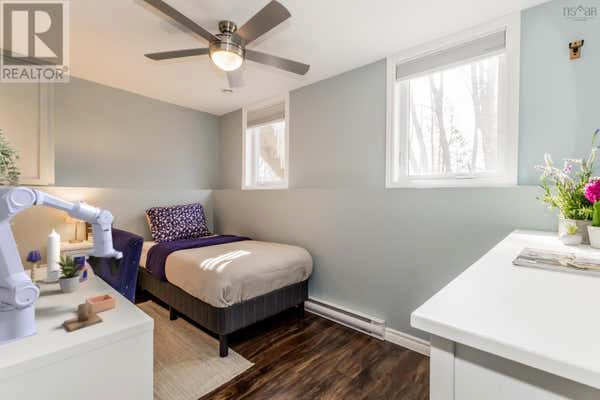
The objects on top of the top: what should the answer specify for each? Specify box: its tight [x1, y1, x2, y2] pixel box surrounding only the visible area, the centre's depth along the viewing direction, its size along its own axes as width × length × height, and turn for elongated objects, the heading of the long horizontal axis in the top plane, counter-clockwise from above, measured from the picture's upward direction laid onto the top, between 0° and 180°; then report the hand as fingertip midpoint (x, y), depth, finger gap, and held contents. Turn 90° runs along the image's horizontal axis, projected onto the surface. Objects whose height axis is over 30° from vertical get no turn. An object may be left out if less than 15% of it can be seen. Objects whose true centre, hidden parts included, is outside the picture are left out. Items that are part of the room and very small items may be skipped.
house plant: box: [50, 253, 88, 294], centre depth 113 cm, size 14×14×16 cm
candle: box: [43, 228, 61, 284], centre depth 126 cm, size 7×7×25 cm
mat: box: [62, 320, 104, 333], centre depth 85 cm, size 8×8×1 cm
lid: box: [63, 302, 103, 332], centre depth 85 cm, size 8×8×6 cm
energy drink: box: [72, 253, 88, 282], centre depth 127 cm, size 5×5×12 cm
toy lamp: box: [25, 250, 42, 289], centre depth 114 cm, size 5×5×17 cm
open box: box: [85, 293, 116, 315], centre depth 96 cm, size 7×7×4 cm
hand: (106, 275), depth 101 cm, fingers open, 7 cm apart
